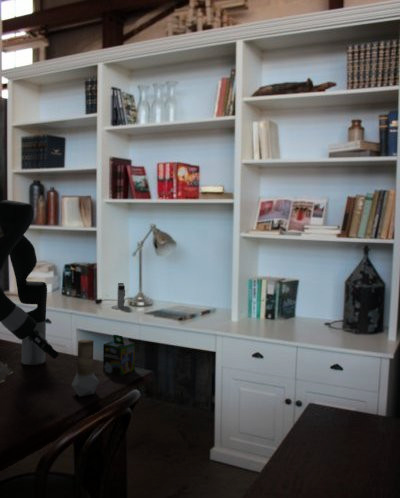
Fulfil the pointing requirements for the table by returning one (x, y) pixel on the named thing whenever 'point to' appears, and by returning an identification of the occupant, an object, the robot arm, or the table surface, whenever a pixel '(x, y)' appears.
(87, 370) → the oak cylinder
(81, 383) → the die
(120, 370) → the chalk box
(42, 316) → the robot arm
